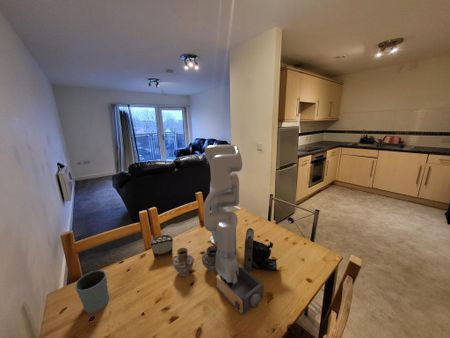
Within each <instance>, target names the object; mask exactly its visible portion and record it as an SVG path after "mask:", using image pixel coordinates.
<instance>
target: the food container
mask: <svg viewBox="0 0 450 338" xmlns="http://www.w3.org/2000/svg"><path fill="white" fill-rule="evenodd" d="M173 242H175V240H174V238H173V237H172V236H171V235H169V234H161V235H158V236H156V237H154V238H153V239H151V241H150V244H149V247H151V250H152V251H151V252H152V254H153V259H154V260H156V259H160V258H161V259H162V258H164V257H169V256H173V251H174V249H173V246H174V245H173V244H174V243H173Z"/></svg>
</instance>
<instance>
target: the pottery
mask: <svg viewBox="0 0 450 338" xmlns="http://www.w3.org/2000/svg"><path fill="white" fill-rule="evenodd" d="M216 252H217V245H209V247H207V248H206V252H204V253H203V254H202V255H201V262H202V264H203V266H204V267H205V268H206V269H207V270H208V271H209V273H218V272H217V271H216V267H215V261H216ZM176 254H177V256H176V257H174V259H173V260H172V265H173V267H174V270H175V271H176V272H177V273H178V276H180V277H187V276H188V275H189V274H190V273H191V270H192V268H193V265H194V262H195V259H194V256H193V255H191V254H189V253H188V248H187V247H180V248H178V249H177V251H176Z"/></svg>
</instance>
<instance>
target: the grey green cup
mask: <svg viewBox="0 0 450 338" xmlns="http://www.w3.org/2000/svg"><path fill="white" fill-rule="evenodd" d="M108 287H109V286H108V281H107V273H106V272H105V270H103V269H95V270H92V271H90V272H88V273H85V274H84V275H82V276H81V277H80V278H79V279H77V281H76V283H75V287H74V288H75V290H76V293H77V295H78V296H79V299H80V302H81V305H82V306H83V310H84V311H85V313H86V314H95V313H98V312H99V311H101V310H103V309H104V308H105V307H106V306H107V305H108V303H109V301H110V294H109V293H110V292H109V290H108V289H109V288H108Z"/></svg>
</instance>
